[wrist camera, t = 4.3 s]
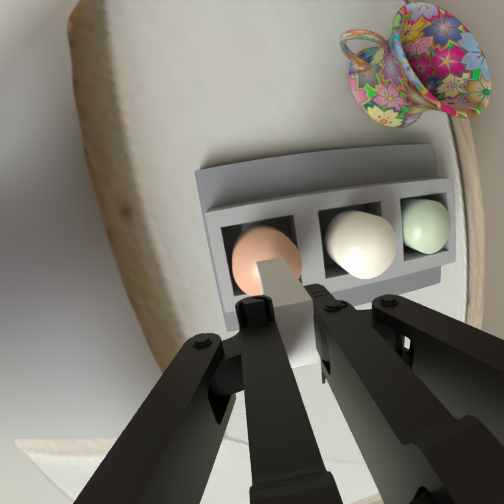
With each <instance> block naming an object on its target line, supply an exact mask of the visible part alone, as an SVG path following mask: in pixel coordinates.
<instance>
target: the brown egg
mask: <svg viewBox="0 0 504 504" xmlns="http://www.w3.org/2000/svg"><path fill="white" fill-rule="evenodd" d="M279 257H283V258H284V260H285V261H286V263H287V264H288V266H289V267H290V268H291V270H292V271H293V273H294V274H295V275H296V277H297V278H298V279H299V277H300V274H301V270H302V260H301V256H300V253H299V251H298V249H297V247H296V246H295V245H294V243H293V242H292V241H291V240H290V239H289V238H288V237H287V236H286V235H285V234H284V233H283V232H281V231H280V230H279V229H277V228H275V227H273V226H270V225H255V226H252V227H250V228H248V229H246V230H245V231H243V232H242V233H241V234H240V235H239V236H238V238H237V239H236V241H235V243H234V246H233V251H232V269H233V275H234V278H235V281H236V283H237V284H238V286H239V287H240V288H241V290H243V291H244V292H245V293H246V294H248V295H249V296H256V295H262V294H261V289H260V283H259V277H258V271H257V265H256V262H257V261H263V260H268V259H273V258H279Z"/></svg>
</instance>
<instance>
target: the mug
mask: <svg viewBox="0 0 504 504" xmlns="http://www.w3.org/2000/svg"><path fill="white" fill-rule="evenodd" d="M351 39H366V40H371V41H374V42H376V43H378V44H379V45H381V46H382V47H373V48H368V49H365V50H363V51H361V52H360V53H358V54H357V55H355V54H354V53H352V52H351V51H350V50H349V48H348V47H347V45H346V42H347V41H348V40H351ZM340 46H341V49H342V51H343V53H344V54H345V55H346V56H347V57H348V58H349V59H350V60H351V61H352V63H351V65H350V69H349V84H350V88H351V91H352V94H353V96H354V98H355V100H356V102H357V103H358V105H359V106H360V107H361V109H362V110H363V111H364V112H365V113H366V114H367V115H368V116H369V117H370V118H372V119H373V120H375V121H376V122H378V123H380V124H382V125H385V126H388V127H393V128H403V127H407V126H409V125H411V124H413V123H414V122H415V121H417V120H418V118H419V117H420V116H421V114H422V112H424V111H428V110H439V111H443V112H446V113H448V114H450V115H453V116H456V117H460V118H471V117H475V116H477V115H479V114H480V113H481V112H483V110H484V109H485V108H486V106H487V105H488V102H489V99H490V94H491V78H490V72H489V68H488V64H487V62H486V59H485V56H484V54H483V52H482V50H481V48H480V47H479V45H478V43H477V41H476V40H475V38H474V37H473V36H472V34H471V33H470V32H469V31H468V29H467V28H466V27H465V26H464V25H463V24H462V23H461V22H460V21H459V20H458V19H456V18H455V17H454V16H453V15H451V14H450V13H448V12H447V11H445V10H444V9H442V8H440V7H438V6H435V5H433V4H429V3H424V2H413V3H409V4H406V5H405V6H403V7H402V8H401V9H400V10H399V11H398V12H397V14H396V16H395V19H394V22H393V29H392V34H391V36H390V38H389V40H388V41H386V40H385V39H384V38H383V37H382V36H380V35H378V34H376V33H374V32H371V31H366V30H350V31H347V32H345V33H343V34H342V36H341V38H340Z"/></svg>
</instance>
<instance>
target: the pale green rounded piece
mask: <svg viewBox="0 0 504 504" xmlns="http://www.w3.org/2000/svg"><path fill="white" fill-rule="evenodd" d="M400 206H401V219H402V234H403V244H404V245H406V246H408V247H411V248H413V249H416V250H418V251H420V252H423V253H426V254H432V253H435V252H437V251H439V250H440V249H441V248H442V247H443V246H444V245H445V243H446V241H447V239H448V237H449V233H450V225H451V224H450V217H449V214H448V211H447V210H446V208H445V207H444V206H443V205H442V204H441V203H439V202H437V201H433V200H426V199H419V198H411V197H410V198H405V199H403V200H401V201H400Z"/></svg>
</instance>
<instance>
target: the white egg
mask: <svg viewBox="0 0 504 504" xmlns="http://www.w3.org/2000/svg"><path fill="white" fill-rule="evenodd" d="M324 244H325V248H326V251H327V253H328V255H329V256H330V257H331V258H332V259H333V260H334V261H335V262H336V263H337V264H339V265H340V266H341V267H342V268H344V269H345V270H346V271H347V272H349V273H350V274H351V275H353V276H355V277H357V278H360V279H370V278H374V277H377V276H379V275H380V274H382V273H383V272H384V271H386V270H387V268H388V267H389V266H390V265H391V263H392V261H393V259H394V257H395V254H396V249H397V239H396V234H395V232H394V229H393V228H392V226H391V225H390V223H389V222H388V221H386V220H385V219H384V218H382V217H379V216H376V215H373V214H369V213H365V212H361V211H357V210H346V211H343V212H340V213H338V214H337V215H336V216H334V217H333V218H332V220H331V221H330V222H329V224H328V226H327V228H326V231H325V235H324Z"/></svg>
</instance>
